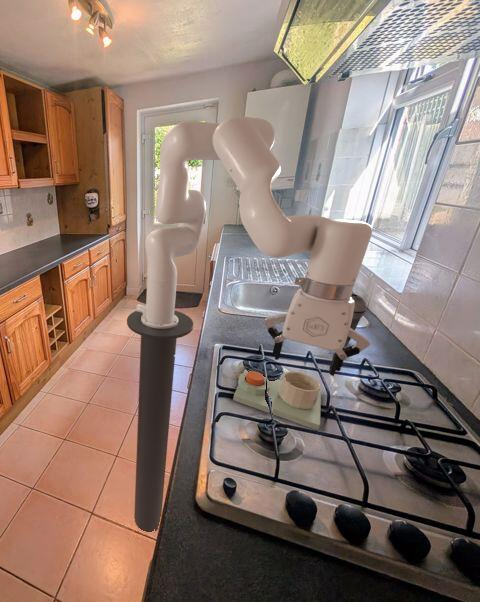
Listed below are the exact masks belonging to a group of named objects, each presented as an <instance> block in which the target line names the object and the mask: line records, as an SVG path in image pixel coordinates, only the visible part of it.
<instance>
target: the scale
mask: <svg viewBox="0 0 480 602" xmlns="http://www.w3.org/2000/svg"><path fill="white" fill-rule="evenodd" d="M247 370H248V369H244V371H243V372H242V373H240V374H239V376H238V379H237V380H238V381H237V384H238V385H237V387H236V390H235V391H234V394H233V398H232V401H235V402H237V403H240V404H243V405H246V406H248V407H251V408H253V409H255V410H256V409H257V410H260V411H262V412H265V413H267V414H270V413H269V409H268V404H267V402H266V400H265V390H266V377H264V382H263V385H262V386H254V385H251V384H249V383H248V382H247V381H246V376H247V373H248V371H249V370H248V371H247ZM276 379H277V380H275V381H269V380H268V379H267V391H268V394H269V396H270V398H271V401H272V408H273V414H272V415H274V416H276V417H279V418H281V419H285V420H288V421H290V422H293V423H296V424H298V425H302V426H304V427H307V428H309V429H312V430H315V431H319V430H320V427H321V407H322V405H321V404H322V392H321V391H319V395H318V398H317V401H316V404H315V406H314V407H312V408H308V409H299V408H295V407H293V406H290V405H289V404H287V403H285V402H284V401H283V400H282V399H281V398H280V396H279V389H280V385H281V381H282V379H278V378H276Z"/></svg>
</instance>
